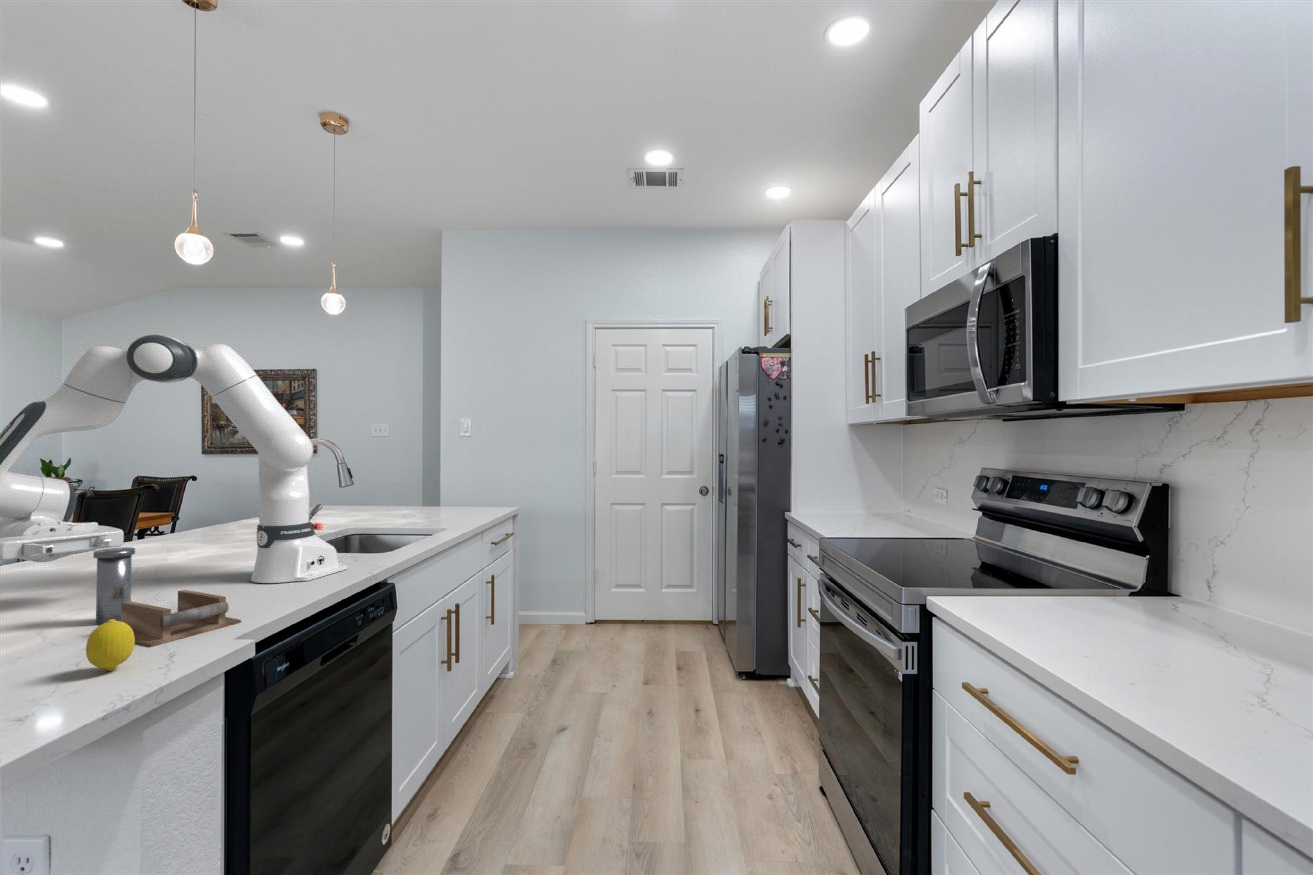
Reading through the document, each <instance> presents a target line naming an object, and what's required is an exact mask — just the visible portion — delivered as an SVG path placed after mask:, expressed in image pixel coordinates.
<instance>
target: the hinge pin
mask: <svg viewBox="0 0 1313 875" xmlns="http://www.w3.org/2000/svg"><path fill="white" fill-rule="evenodd" d="M135 554H136V547H127V546H126V547H110V548H102V549H99V550H98V549H97V550H94V551H93V558H94V559H96V594H95V596H96V599H95V600H96V601H95V606H96V607H95V624H96V625H98V626H100V625H101V624H103V623H106V622H107V621H108V620H110V619H115V620H116V621H121V603H122V602H127V601H132V563H133V562H132V556H133V555H135Z"/></svg>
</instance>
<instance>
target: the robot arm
mask: <svg viewBox="0 0 1313 875" xmlns="http://www.w3.org/2000/svg"><path fill="white" fill-rule="evenodd" d="M189 378H190V379H192V380H195V381H196V382H198V383H199V385H201V386H202V387H203V388H204V390H205V391H206V392H207V393H208V394H209V396H210V397H211V398H212V399H213V401H215V403H216V404H217V405H218V407H219V408H220V409H221V410H222V412H224V413H223V414H225V416H226V417H228V419H229V420H230V421H231V423H232V424H233V425H234V426H235V427H236V428H237V429H238V430H239V432H240V433H241V434H242V436H244V437H245V439H246V440H247V441H248V442H249V443H250V444H251V446H252V447H253V448H254V449H255V451H256V452H257V453H258V486H259V489H258V490H259V506H258V507H259V509H258V510H259V516H258V517H259V519H258V520H259V521H258V524H257V525H256V544H257V552H256V558H255V563H254V568H253V571H252V575H251V577H250V581H251V582H253V583H260V584H276V583H279V584H281V583H289V582H291V583H292V582H308V581H311V580H315V579H318V578H321V577H324V576H325V577H326V576H329V575H332V574H335V573H339V572H343V571H345V570H348V565H347V564H345V563H343V562H339V559H338V558H339V557H338V552H337V549H336V548H335V547H334V546H333V545H332V544H331V543H328V542H327V541H325V540H324V539H322V538H321V537H319V536H317V535H316V532H315V531H316V530H317V531H323V529H324V523H323V522H314V523H312V522H311V521H310V488H309V487H310V486H309V478H308V477H309V474H308V473H309V472H308V464H309V462H310V461H311V459H312V458H313V455H314V445H313V442H312V441H311V438H310V437H309V436H308V435H307V434H306V432H305V431H304V430H303V429H302V428H301V426H300V425H299V424H298V423H297V422H296V421H295V419H294V418H293V417H292V416H291V414H289V412H288V411H287V410H286V409H285V408H284V406H282V404H281V403H279V401H278V400H277V399H276V397H275V396H274V395H273V394H272V392H271V391H270V390H269V388H268V386H266V385H265V383H264V382H263V381H262V379H261V378H260V377H259V375H258V374H257V373H256V372H255V370H254V369H253V368H252V366H250V364H248V362H246V360H245V359H244V358H243V357H242V356H240V355H239V354H238V353H237V352H236V351H235V350H234V349H233V348H232V347H231V346H229V345H226V344H223V343H213V344H212V343H211V344H207V345H205V346H202V347H200V348H193V347H191V346H190V345H189V344H188V343H185V342H184V341H181V340H180V339H178V338H175V337H172V336H168V335H158V334H147V335H144V336H141V337H139V338H136V339H135V340H134V341H133V342H131V343H130V345H129V346H128V348H127V350H125V349H122V348H118V347H114V346H110V345H109V346H108V345H96V346H93V347H91V348H89V349H87V350H86V351H85V353H84V354H82V355H81V357H80V358H79V359H78V361H77V362H76V363H75V364H74V366H72V369H71V370H69V373H68V374H67V376H66V377H65V379H64V381H63V382H62V385H61V386H60V387H59V388H58V390H57V391H55V392H54V393H53V394H52V395H50V396H49V397H47V398H45V399H44V400H41V401H34V402H31V403H29V404H28V405H26V406H25V407H23V409H22V410H20V411H19V412H18V414H16V416H15V417H13V419H12V420H11V421H10V422H9V423H8V424H7V425H6V426H5V428H4V429H3V430H2V431H1V433H0V518H1V519H0V561H5V560H14V559H15V560H18V559H20V560H23V561H28V562H29V561H30V562H34V563H49V562H52V561H56V560H58V559H62V558H65V557H68V556H72V555H77V554H82V553H84V554H85V553H88V552H94V551H97V550H98V549H99V550H103V549H111V548H120V547H121V546H123V544H124V538H125V535H124V531H123V529H121V528H117V527H113V526H107V525H99V523H98V522H96V521H92V522H91V521H81V522H80V521H77V522H76V521H70V520H71V518H72V516H73V514H74V512H75V510H76V506H77V502H78V498H77V493H76V492H75V490H74V488H73V486H72V485H71V484H70V483H69V482H68V481H67V480H65V479H61V478H60V479H59V478H53V477H47V476H40V475H30V474H27V473H26V474H25V473H17V472H13V471H9V469H10V468H11V467H12V466H13V465H14V464H15V463H16V461H17V460H18V459H19V458H20V456H21V455H23V453H24V452H25V450H26V449H27V448H28V447H29V446H30V445H31V443H32V442H34V441H35V440H37V439H39V438H41V437H43V436H46V435H47V436H48V435H51V434H57V433H65V432H66V433H67V432H69V433H70V432H85V431H92V430H97V429H100V428H103V427H106V426H108V425H110V424H112V423H113V422H114V421H116V419H117V417H119V416H120V413H121V412H122V411H123V409H124V407H125V405H126V402H127V401H128V399H129V398H130V395H131V393H132V392H133V390H134V389H135V387H136V386H137V385H139V383H141V382H143V381H146V380H148V381H151V382H158V383H161V384H164V383H165V384H170V383H176V382H182V381H184V380H187V379H189ZM69 521H70V522H69Z"/></svg>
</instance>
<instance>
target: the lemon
mask: <svg viewBox="0 0 1313 875" xmlns="http://www.w3.org/2000/svg"><path fill="white" fill-rule="evenodd" d="M135 645H136V643H135V637H134V633H133V630H132V628H131V627H130V626H129V625H128V624H126V623H124V622H121V621H116V620H115V619H110V620H108V621H107V622H106V623H103V624H101V625H98V626H97V627H95V628H94V629H93V630H92V631H91V632H90V634H89V636H88V638H87V640H86V646H85V654H86V659H87V660H88V662H89V664H91V665H92V666H94V667H96V668H98V669H99V668H100V669H104V670H106V671H107V672H112V671H114V670H115V669H116V668H117V667H118V666H119V665H121V664H123V663H125V661H127V660H128V659H129V658H130V657H131V655H132V653H133V651H134V648H135Z"/></svg>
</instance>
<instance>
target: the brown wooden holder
mask: <svg viewBox="0 0 1313 875" xmlns="http://www.w3.org/2000/svg"><path fill="white" fill-rule="evenodd" d="M226 599H227V598H226V596H223V595H218V594H211V593H206V592H201V591H200V592H199V591H196V590H195V591H193V590H189V589H181V590H178V591H177V612H172V608H166V607H161V606H158V605H157V606H156V605H152V604H147V603H141V602H138V601H137V602H136V601H132V600H131V601H127V602H122V603H121V622H124V623H126V624H128V625H129V626H130V627H131V628H132V630H133V633H134V637H135V645H136V644H137V645H141V646H146V647H149V648H151V647H156V646H160V645H162V644H166V643H170V642H173V641H177V640H182V639H185V638H188V637H192V636H195V635H201V634H203V633H207V632H210V631H214V630H218V629H222V628H226V627H229V626H232V625H233V626H234V625H237V624H240V623H242V619H240V618H239V619H238V618H233V617H229V616H226V613H228V611H229V608H230V607H229V603H228V602H227V600H226Z"/></svg>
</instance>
